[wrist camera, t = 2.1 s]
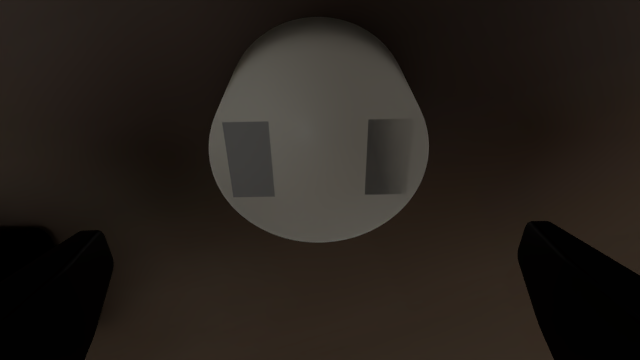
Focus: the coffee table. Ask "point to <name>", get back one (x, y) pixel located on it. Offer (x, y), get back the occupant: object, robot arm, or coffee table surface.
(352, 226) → the white short cylinder
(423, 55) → the coffee table surface
